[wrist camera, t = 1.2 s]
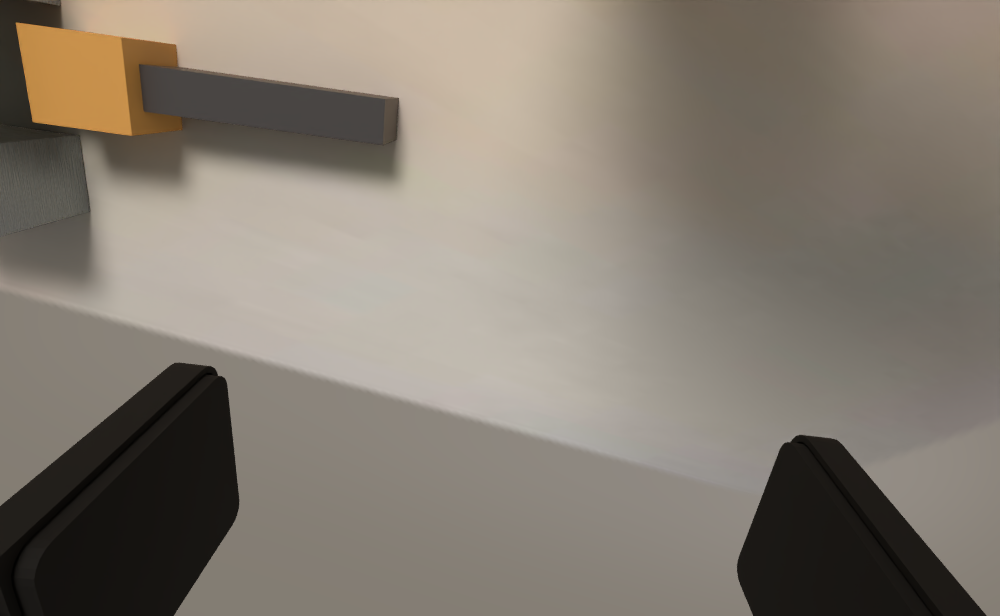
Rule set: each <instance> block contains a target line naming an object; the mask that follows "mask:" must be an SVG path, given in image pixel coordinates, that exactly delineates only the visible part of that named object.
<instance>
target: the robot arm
mask: <svg viewBox="0 0 1000 616" xmlns="http://www.w3.org/2000/svg"><path fill="white" fill-rule="evenodd" d="M238 509H239V493H238V484H237V474H236V465H235V455H234V446H233V436H232V427H231V417H230V408H229V398H228V388H227V382H226V380H225V378H223V377H222V376H218V374H217V372H216V370H215V368H213V367H211V366H203V365H195V364H186V363H174V364H172V365H171V366H169V367H168V368H167V369H166V370H164V371H163V372H162V373H161V374H159V375H158V376H157V377H156V378H155V379H153V380H152V381H151V382H150V383H149V384H147V385H146V386H145V387H144V388H143V389H141V390H140V391H139V392H138V393H137V394H135V395H134V396H133V397H132V398H131V399H129V400H128V401H127V402H126V403H124V404H123V405H122V406H121V407H120V408H118V410H116V411H115V412H114V413H112V414H111V415H110V416H109V417H107V418H106V419H105V420H104V421H103V422H101V423H100V424H99V425H98V426H97V427H96V428H94V429H93V430H92V431H91V432H89V433H88V434H87V435H86V436H85V437H83V438H82V439H81V440H80V441H79V442H77V443H76V444H75V445H74V446H73V447H71V448H70V449H69V450H68V451H66V452H65V453H64V454H63V455H62V456H60V457H59V458H58V459H57V460H56V461H55V462H53V463H52V464H51V465H49V466H48V467H47V468H46V469H45V470H43V471H42V472H41V473H40V474H39V475H37V476H36V477H35V478H34V479H33V480H31V481H30V482H29V483H28V484H27V485H25V486H24V487H23V488H22V489H20V490H19V491H18V492H17V493H16V494H15V495H13V496H12V497H11V498H10V499H8V500H7V501H6V502H5V503H4V504H2V505H1V506H0V616H174V614H175V613H176V611H177V610H178V608H179V606H180V605H181V603H182V602H183V600H184V599H185V597H186V596H187V594H188V592H189V591H190V589H191V588H192V586H193V585H194V583H195V582H196V580H197V579H198V577H199V576H200V574H201V572H202V571H203V569H204V568H205V566H206V565H207V563H208V562H209V560H210V559H211V557H212V556H213V554H214V553H215V551H216V549H217V548H218V546H219V545H220V543H221V542H222V540H223V539H224V537H225V536H226V534H227V532H228V531H229V529H230V528H231V526H232V525H233V523H234V521H235V519H236V516H237V512H238ZM737 573H738V579H739V582H740V585H741V587H742V590H743V592H744V595H745V597H746V599H747V602H748V604H749V606H750V609H751V611H752V614H753V616H986V615H985V613H984V612H983V611H982V610H981V609H980V607H979V606H978V605H977V604H976V603H975V601H974V600H973V599H972V598H971V597H970V596H969V594H968V593H967V592H966V591H965V590H964V588H963V587H962V586H961V585H960V584H959V583H958V581H957V580H956V579H955V578H954V577H953V575H952V574H951V573H950V572H949V571H948V570H947V568H946V567H945V566H944V565H943V564H942V562H941V561H940V560H939V559H938V558H937V557H936V555H935V554H934V553H933V552H932V551H931V549H930V548H929V547H928V546H927V545H926V543H925V542H924V541H923V540H922V539H921V537H920V536H919V535H918V534H917V533H916V532H915V531H914V529H913V528H912V527H911V526H910V524H909V523H908V522H907V521H906V520H905V518H904V517H903V516H902V515H901V514H900V513H899V511H898V510H897V509H896V508H895V507H894V505H893V504H892V503H891V502H890V501H889V500H888V498H887V497H886V496H885V495H884V494H883V492H882V491H881V490H880V489H879V488H878V486H877V485H876V484H875V483H874V482H873V481H872V480H871V478H870V477H869V476H868V475H867V473H866V472H865V471H864V470H863V469H862V468H861V466H860V465H859V464H858V463H857V462H856V460H855V459H854V458H853V457H852V456H851V454H850V453H849V452H848V451H847V450H846V449H845V447H844V446H843V445H842V444H841V443H840V442H839V441H838V440H835V439H831V438H822V437H814V436H805V435H798V436H796V437H795V438H794V439H792V441H791V443H790V442H787V443H784V444H783V445H782V447H781V449H780V451H779V453H778V456H777V459H776V461H775V464H774V466H773V469H772V472H771V474H770V477H769V480H768V482H767V485H766V487H765V490H764V493H763V495H762V498H761V501H760V503H759V506H758V508H757V511H756V514H755V516H754V519H753V521H752V524H751V527H750V529H749V532H748V535H747V537H746V540H745V542H744V545H743V548H742V550H741V553H740V556H739V559H738V564H737Z"/></svg>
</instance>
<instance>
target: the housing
mask: <svg viewBox="0 0 1000 616" xmlns="http://www.w3.org/2000/svg"><path fill="white" fill-rule="evenodd" d="M25 1H32V2H39V3H46V4H53V5H60V0H25ZM60 6H61V5H60ZM86 212H90V208H89V201H88V194H87V187H86V180H85V173H84V166H83V159H82V152H81V145H80V138H79V135H72V134H65V133H58V132H51V131H44V130H37V129H29V128H22V127H15V126H8V125H1V124H0V237H1V236H4V235H8V234H11V233H15V232H18V231H22V230H26V229H29V228H33V227H36V226H40V225H43V224H47V223H51V222H54V221H58V220H61V219H65V218H68V217H72V216H76V215H79V214H83V213H86Z"/></svg>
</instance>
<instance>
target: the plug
mask: <svg viewBox="0 0 1000 616" xmlns="http://www.w3.org/2000/svg"><path fill="white" fill-rule="evenodd" d="M16 27H17V33H18V39H19V40H18V41H19V47H20V53H21V56H22V62H23V68H24V74H25V79H26V85H27V93H28V99H29V102H30V108H31V114H32V120H33V122H36V123H43V124H50V125H57V126H64V127H72V128H79V129H86V130H93V131H100V132H107V133H115V134H122V135H129V136H135V135H144V134H152V133H161V132H169V131H177V130H182V117H186V118H193V119H200V120H207V121H214V122H222V123H229V124H236V125H243V126H250V127H257V128H264V129H271V130H279V131H286V132H293V133H300V134H307V135H314V136H321V137H329V138H336V139H343V140H350V141H357V142H364V143H371V144H378V145H384V144H387V143H389V142H392V141H394V140H396V136H397V119H398V103H399V98H394V97H387V96H380V95H372V94H365V93H358V92H351V91H344V90H337V89H330V88H323V87H316V86H309V85H302V84H295V83H288V82H281V81H274V80H267V79H260V78H253V77H246V76H239V75H232V74H224V73H217V72H210V71H203V70H196V69H189V68H182V67H178V65H177V52H176V45H175V44H168V43H161V42H154V41H147V40H140V39H132V38H125V37H118V36H111V35H104V34H97V33H90V32H83V31H76V30H68V29H61V28H53V27H46V26H39V25H31V24H24V23H16Z"/></svg>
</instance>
